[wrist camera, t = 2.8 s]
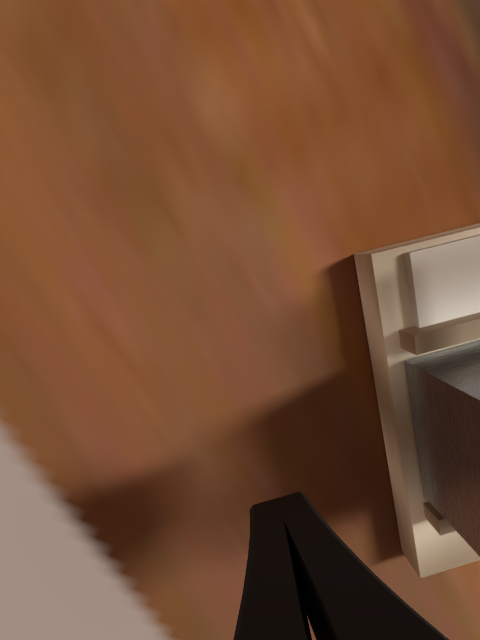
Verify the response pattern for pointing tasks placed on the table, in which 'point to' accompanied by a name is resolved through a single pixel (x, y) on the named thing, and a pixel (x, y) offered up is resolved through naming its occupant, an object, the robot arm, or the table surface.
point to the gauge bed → (411, 342)
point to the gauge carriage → (449, 434)
